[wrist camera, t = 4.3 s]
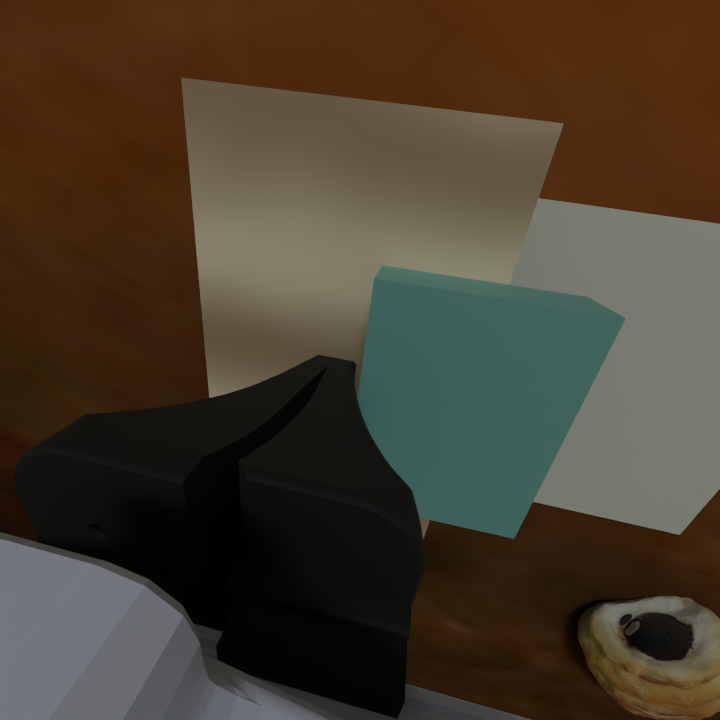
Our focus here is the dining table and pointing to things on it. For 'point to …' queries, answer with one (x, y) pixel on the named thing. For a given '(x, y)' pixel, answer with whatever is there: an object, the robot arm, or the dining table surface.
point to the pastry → (655, 655)
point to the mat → (637, 361)
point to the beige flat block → (341, 214)
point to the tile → (476, 388)
